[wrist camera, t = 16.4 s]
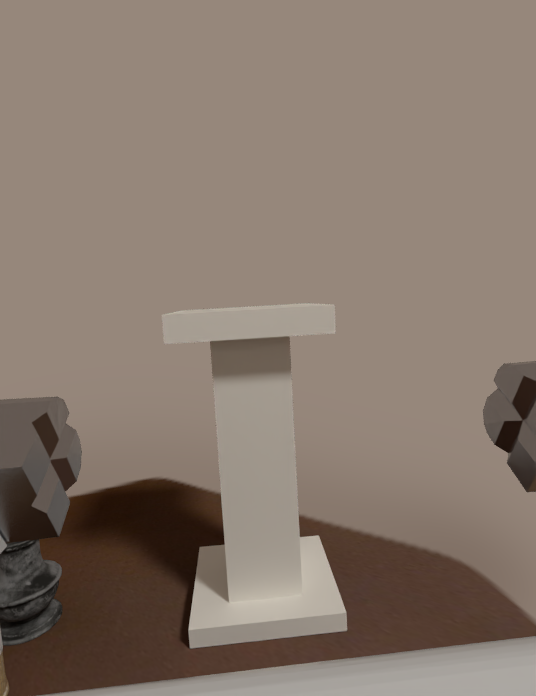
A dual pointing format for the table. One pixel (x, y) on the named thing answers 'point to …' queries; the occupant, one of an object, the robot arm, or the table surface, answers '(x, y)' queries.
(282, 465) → the pedestal shelf
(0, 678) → the sprinkles bottle
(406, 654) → the robot arm
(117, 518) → the table surface
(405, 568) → the table surface
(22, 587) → the dark tall tiered piece
